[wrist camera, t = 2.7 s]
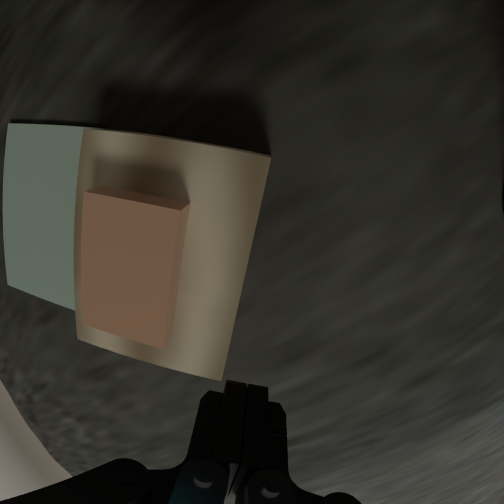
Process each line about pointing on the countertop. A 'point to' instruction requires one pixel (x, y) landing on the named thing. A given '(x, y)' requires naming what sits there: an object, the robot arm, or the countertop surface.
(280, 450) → the robot arm
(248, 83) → the countertop surface
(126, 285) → the tile
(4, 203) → the mat
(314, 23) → the countertop surface
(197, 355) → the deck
